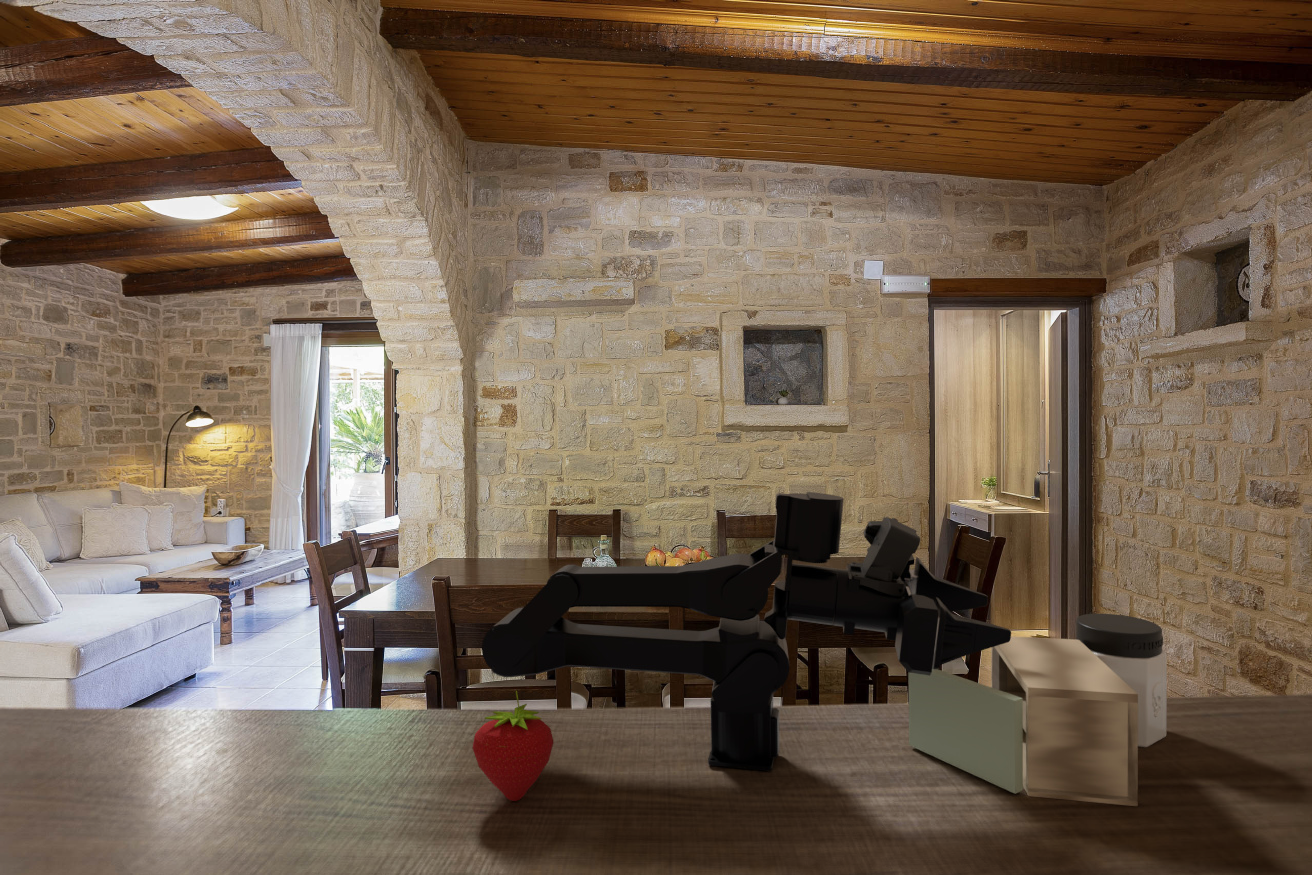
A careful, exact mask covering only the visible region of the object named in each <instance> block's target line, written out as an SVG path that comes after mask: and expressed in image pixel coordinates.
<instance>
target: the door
mask: <svg viewBox="0 0 1312 875" xmlns="http://www.w3.org/2000/svg"><path fill="white" fill-rule="evenodd" d="M907 672H908V671H907ZM907 677H908V746H910V747H913V748H914V749H916V750H918V751H921V752H923V753H925V754H927V755H930V756H932V757H934V758H936V759H938V760H941V761H943V762H945V763H947V764H949V765H952V766H954V767H956V768H958V769H960V770H962V771H964V772H967V773H969V774H971V775H973V776H975V777H977V778H980V779H982V780H985V781H986V782H989V783H991V784H993V785H995V786H997V787H999V788H1001V789H1003V790H1006V791H1008V792H1010V793H1013V794H1017V793H1018V794H1019V793H1020V792H1022V791H1024V787H1023V698H1021V697H1018V696H1015V695H1012V694H1009V693H1006V692H1003V691H1000V690H997V689H994V688H991V686H989V685H985V684H982V683H979V682H976V681H973V680H970V679H967V678H964V677H961V676H958V675H956V674H953V673H950V672H946V671H943V670H940V669H932V673H931V675H923V674H916V673H909V672H908V673H907Z"/></svg>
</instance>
